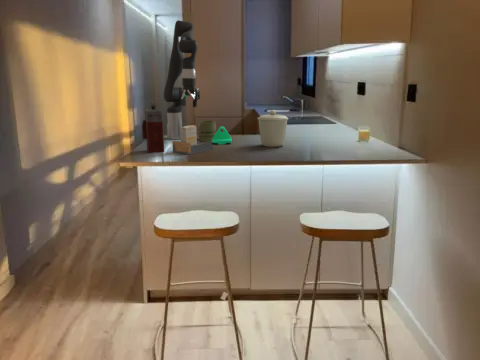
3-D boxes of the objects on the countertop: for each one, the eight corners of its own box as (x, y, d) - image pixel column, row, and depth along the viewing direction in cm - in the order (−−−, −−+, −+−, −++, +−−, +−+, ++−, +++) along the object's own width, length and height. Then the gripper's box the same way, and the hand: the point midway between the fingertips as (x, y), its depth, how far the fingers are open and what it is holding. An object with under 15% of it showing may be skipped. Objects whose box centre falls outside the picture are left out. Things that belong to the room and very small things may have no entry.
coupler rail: (172, 152, 254) (172, 141, 253) (197, 147, 269) (196, 137, 268) (188, 154, 247) (188, 143, 245) (212, 149, 262) (212, 138, 261)
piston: (200, 122, 286) (196, 121, 296) (201, 141, 289) (196, 139, 299) (217, 122, 289) (213, 120, 300) (218, 140, 292) (213, 138, 303)
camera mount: (212, 144, 278) (211, 128, 276) (212, 142, 286) (212, 126, 283) (231, 144, 278) (231, 127, 276) (231, 142, 286) (231, 126, 283)
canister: (251, 146, 271) (251, 110, 266) (270, 142, 284) (270, 108, 279) (275, 149, 259) (275, 112, 254) (294, 145, 272) (294, 109, 267)
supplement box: (191, 148, 260) (190, 125, 257) (197, 148, 258) (196, 125, 254) (180, 150, 254) (179, 126, 251) (187, 151, 251) (186, 127, 248)
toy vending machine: (143, 150, 261) (139, 100, 254) (162, 149, 263) (160, 100, 257) (143, 153, 252) (140, 101, 246) (164, 152, 255) (161, 101, 248)
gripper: (175, 76, 256) (175, 106, 260) (193, 77, 247) (193, 108, 252) (184, 76, 262) (185, 105, 266) (202, 77, 253) (203, 107, 257)
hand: (189, 106), depth 259 cm, fingers open, 8 cm apart
